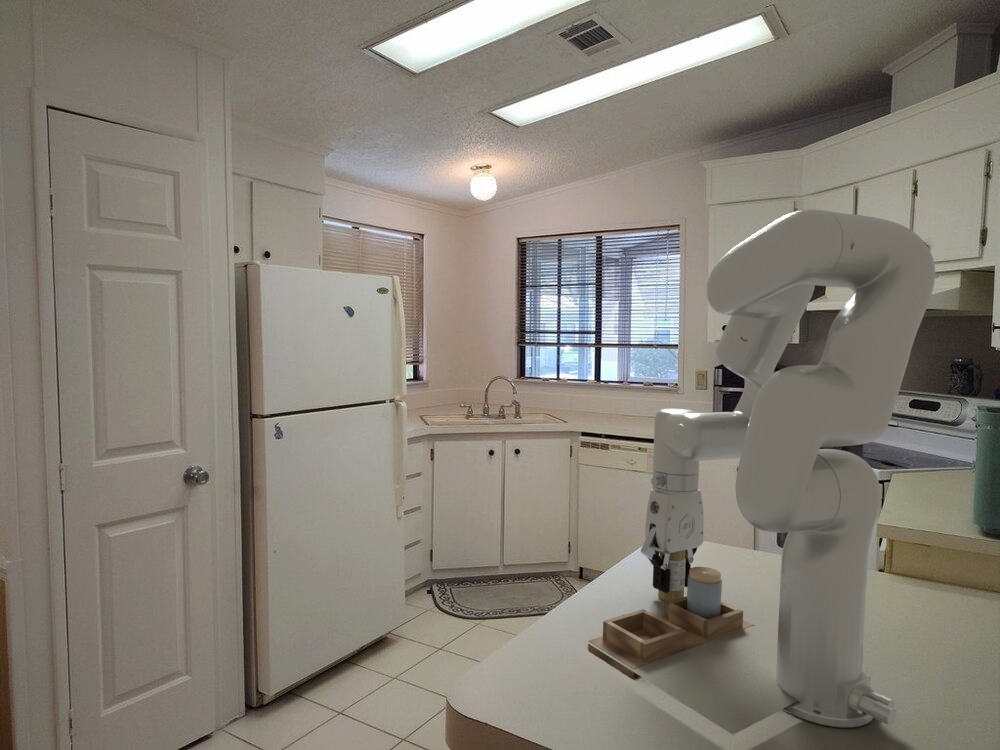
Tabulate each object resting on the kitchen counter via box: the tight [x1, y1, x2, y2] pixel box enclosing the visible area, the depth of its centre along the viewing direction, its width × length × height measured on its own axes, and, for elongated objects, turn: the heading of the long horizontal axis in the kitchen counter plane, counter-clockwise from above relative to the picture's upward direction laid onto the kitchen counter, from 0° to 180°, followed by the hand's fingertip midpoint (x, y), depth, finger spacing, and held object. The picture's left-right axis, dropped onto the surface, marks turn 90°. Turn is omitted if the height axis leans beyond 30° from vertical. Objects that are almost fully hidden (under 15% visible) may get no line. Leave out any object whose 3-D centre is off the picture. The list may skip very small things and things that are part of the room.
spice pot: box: [686, 566, 723, 620], centre depth 95 cm, size 5×5×8 cm
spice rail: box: [587, 595, 755, 681], centre depth 91 cm, size 9×26×4 cm, turn 123°
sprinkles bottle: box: [657, 551, 686, 602], centre depth 104 cm, size 5×5×14 cm
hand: (671, 585), depth 104 cm, fingers closed on sprinkles bottle, 4 cm apart
